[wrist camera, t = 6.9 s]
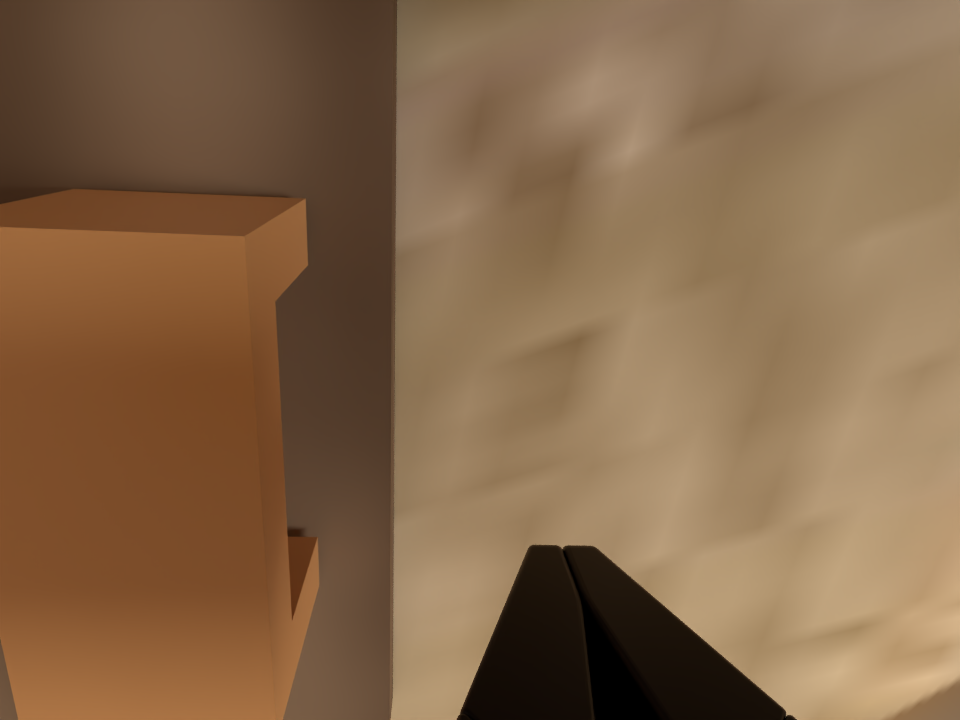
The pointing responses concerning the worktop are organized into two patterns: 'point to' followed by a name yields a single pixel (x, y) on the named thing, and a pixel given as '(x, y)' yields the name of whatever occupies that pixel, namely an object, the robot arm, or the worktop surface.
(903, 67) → the worktop surface
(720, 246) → the worktop surface
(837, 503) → the worktop surface
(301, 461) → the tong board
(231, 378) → the orange rectangular block
